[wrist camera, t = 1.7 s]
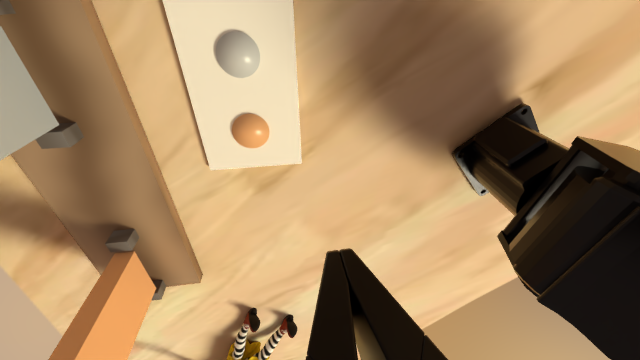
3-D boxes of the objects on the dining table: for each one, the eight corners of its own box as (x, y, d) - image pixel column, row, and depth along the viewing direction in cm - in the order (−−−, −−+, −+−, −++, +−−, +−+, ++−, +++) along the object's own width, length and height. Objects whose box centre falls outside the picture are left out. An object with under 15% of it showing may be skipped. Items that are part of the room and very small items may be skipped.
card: (292, -5, 15) (292, -5, 15) (301, 160, 22) (301, 164, 21) (164, -4, 15) (160, -4, 14) (211, 167, 21) (210, 171, 21)
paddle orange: (134, 251, 22) (38, 425, 13) (156, 288, 25) (89, 451, 16) (114, 253, 22) (4, 430, 13) (138, 290, 25) (61, 456, 16)
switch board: (85, -14, 14) (54, -15, 12) (202, 274, 28) (197, 295, 26) (-91, -13, 13) (-154, -14, 11) (119, 283, 27) (106, 306, 25)
